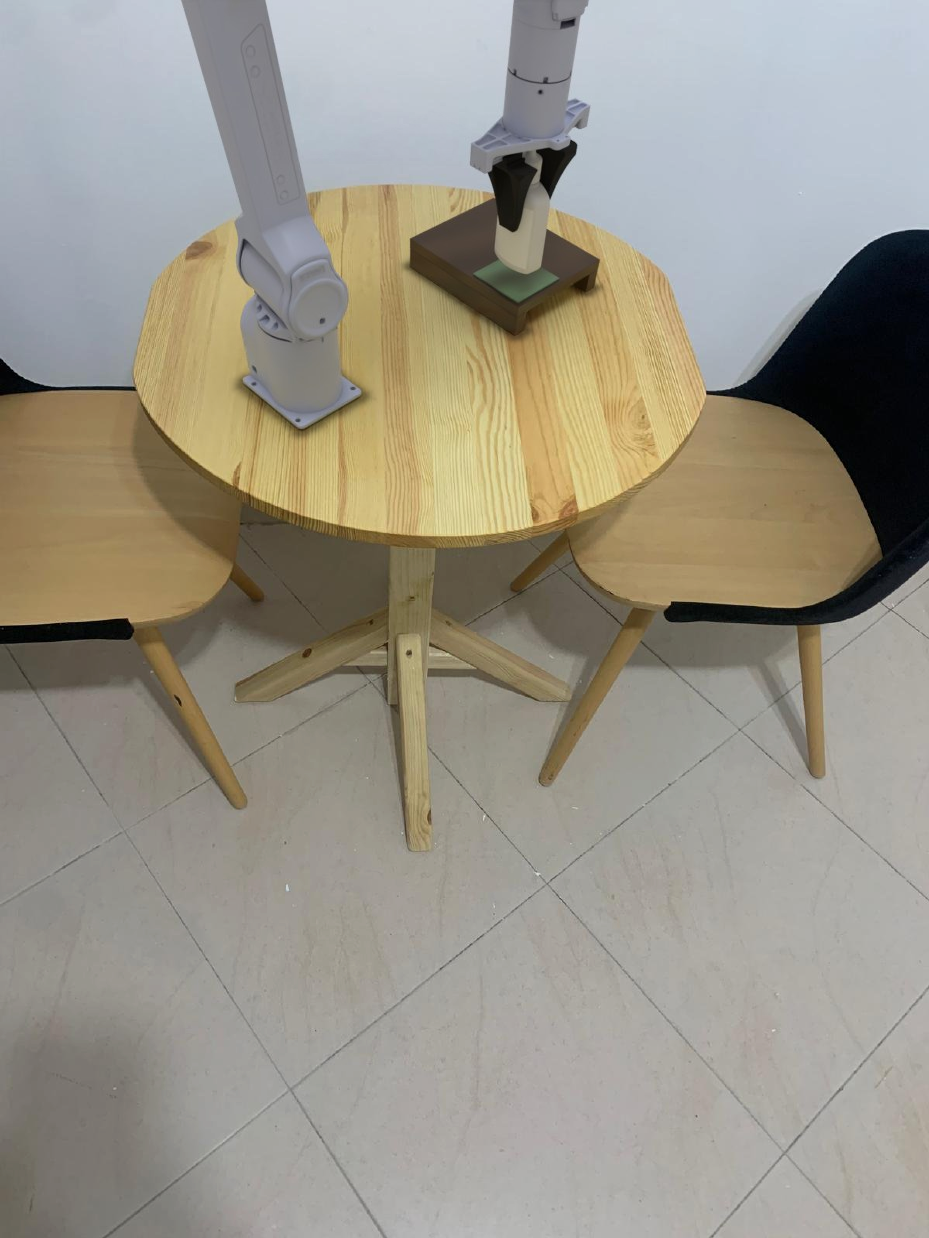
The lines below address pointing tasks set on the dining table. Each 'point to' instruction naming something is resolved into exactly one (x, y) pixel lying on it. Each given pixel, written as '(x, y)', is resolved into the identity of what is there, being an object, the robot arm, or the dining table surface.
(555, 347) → the dining table surface
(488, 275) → the shelf
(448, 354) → the dining table surface
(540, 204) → the eye dropper bottle
